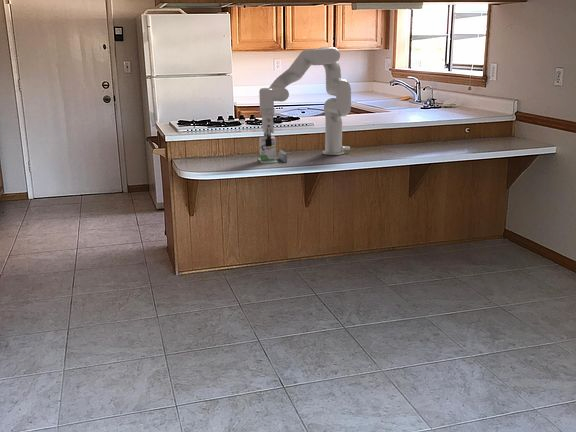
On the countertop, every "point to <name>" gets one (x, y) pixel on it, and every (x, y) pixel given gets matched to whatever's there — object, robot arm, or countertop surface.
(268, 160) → the pad
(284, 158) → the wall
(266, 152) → the ink box
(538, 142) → the countertop surface
